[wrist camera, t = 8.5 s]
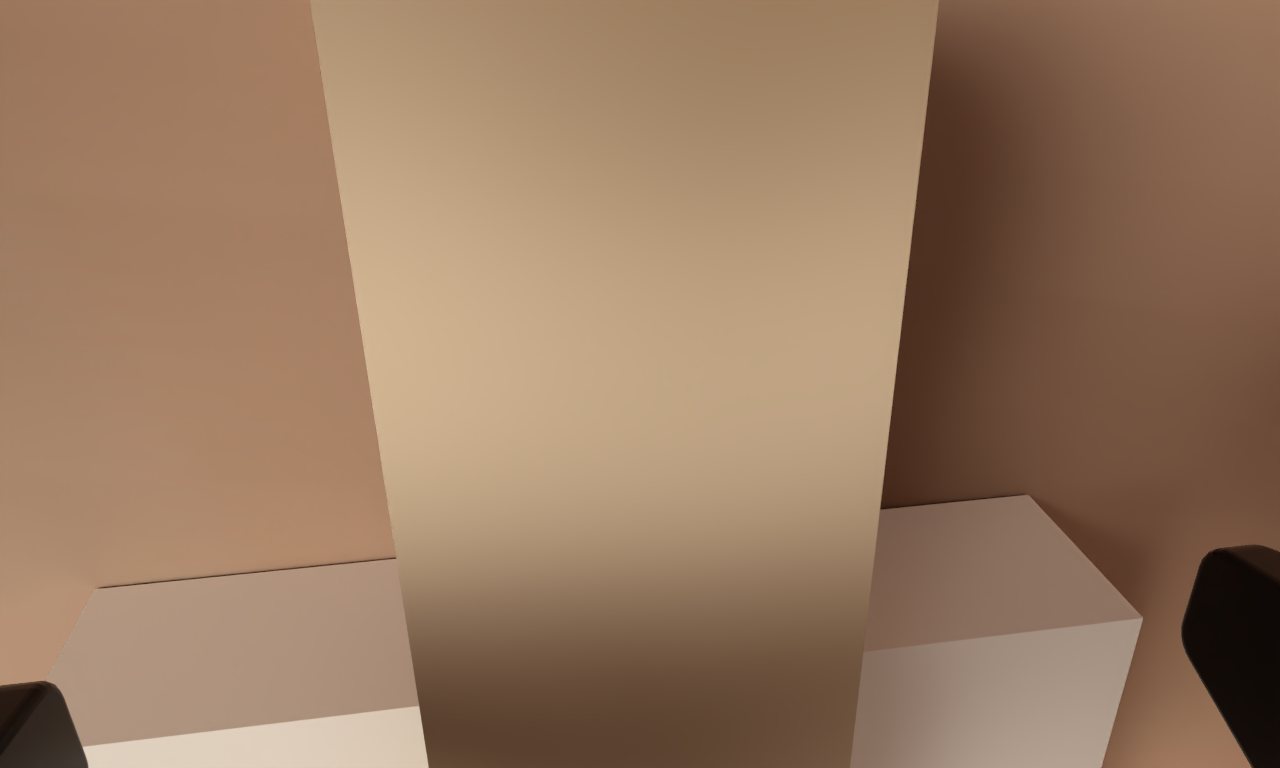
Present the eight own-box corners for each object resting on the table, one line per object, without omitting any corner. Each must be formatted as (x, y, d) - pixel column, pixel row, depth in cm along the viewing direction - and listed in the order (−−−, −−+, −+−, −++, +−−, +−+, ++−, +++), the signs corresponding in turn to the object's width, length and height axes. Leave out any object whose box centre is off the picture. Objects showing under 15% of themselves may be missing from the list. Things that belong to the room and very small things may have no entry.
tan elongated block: (712, 793, 18) (806, 1139, 13) (487, 825, 17) (495, 1198, 12) (737, -67, 11) (943, -37, 6) (379, -60, 11) (307, -20, 6)
